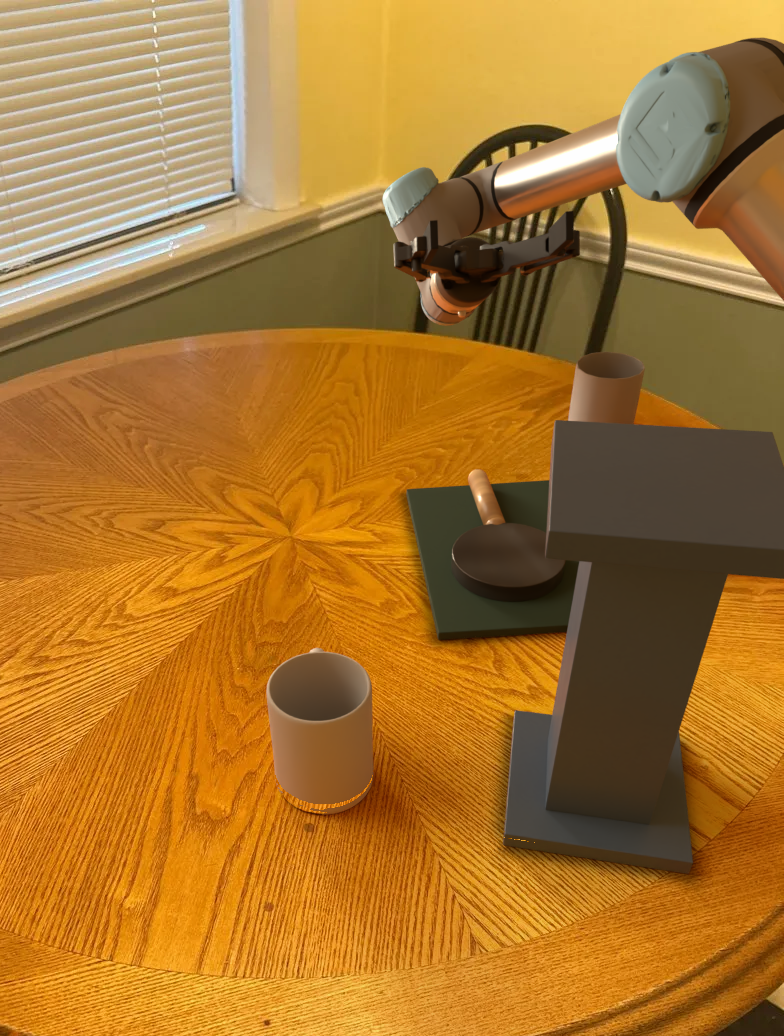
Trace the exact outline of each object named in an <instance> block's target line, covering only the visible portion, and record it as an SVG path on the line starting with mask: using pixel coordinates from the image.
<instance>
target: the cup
mask: <svg viewBox="0 0 784 1036" xmlns="http://www.w3.org/2000/svg"><path fill="white" fill-rule="evenodd" d="M645 370H646V366H645V364H644V362H643V361H642V360H641V359H639V358H638V357H635V356H633V355H629V354H626V353H623V352H613V351H600V352H591V353H589V354H585V355H583V356H581V357H580V358H579V359H578V360H577V361H576V363H575V369H574V375H573V377H574V378H573V384H572V390H571V397H570V402H569V403H570V404H569V411H568V416H567V421H582V422H600V423H619V424H635V420H636V415H637V411H638V405H639V401H640V395H641V390H642V386H643V380H644V376H645Z"/></svg>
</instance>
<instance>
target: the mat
mask: <svg viewBox="0 0 784 1036" xmlns="http://www.w3.org/2000/svg"><path fill="white" fill-rule="evenodd" d="M490 484H491V486H492V489H493V492H494V494H495V497H496V499H497V502H498V504H499V507H500V510H501V512H502V515H503V517H504V520H505V522H506V523H514V524H521V525H526V526H530V527H533V528H536V529H539V530H541V531H543V532H545V533H546V531H547V514H548V496H549V479H547V480H546V479H544V480H530V481H528V480H527V481H515V482H499V483H490ZM405 493H406V495H405V496H406V500H407V505H408V509H409V514H410V518H411V522H412V527H413V532H414V536H415V542H416V546H417V551H418V554H419V559H420V563H421V567H422V568H421V569H422V573H423V577H424V582H425V586H426V591H427V596H428V600H429V605H430V609H431V613H432V618H433V623H434V627H435V632H436V636H437V639H438V641H443V640H444V641H445V640H460V639H461V640H462V639H463V640H464V639H478V638H494V637H495V638H496V637H509V636H510V637H511V636H527V635H528V636H529V635H544V634H561V633H567V629H568V623H569V618H570V612H571V606H572V601H573V595H574V589H575V584H576V578H577V573H578V567H579V561H571V560H565V566H564V572H563V577H562V580H561V582H560V583H559V585H558V586H557V587H556V588H555V589H554V590H553V591H551V592H550V593H548V594H546V595H544V596H542V597H539V598H536V599H532V600H527V601H519V602H506V601H497V600H492V599H488V598H484V597H481V596H479V595H476V594H474V593H472V592H470V591H468V590H467V589H465V588H464V587H463V586H462V585H460V584H459V582H458V581H457V580H456V579H455V577H454V575H453V573H452V569H451V561H452V549H453V545H454V543H455V542H456V540H457V539H458V538H459V537H460V536H461V535H462V534H464V533H465V532H467V531H469V530H471V529H473V528H476V527H479V526H482V525H483V522H482V519H481V517H480V514H479V511H478V508H477V505H476V502H475V500H474V497H473V494H472V491H471V488H470V485H469V484H467V485H466V484H465V485H451V486H436V487H435V486H433V487H420V488H418V487H417V488H406V492H405Z"/></svg>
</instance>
